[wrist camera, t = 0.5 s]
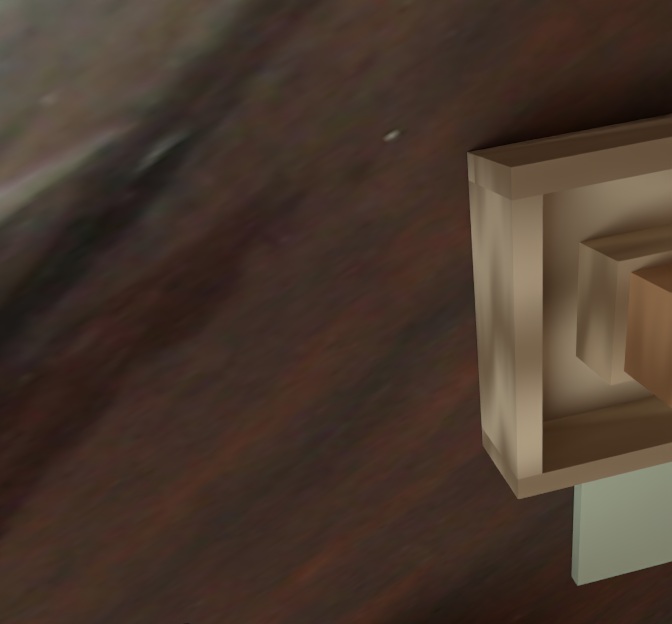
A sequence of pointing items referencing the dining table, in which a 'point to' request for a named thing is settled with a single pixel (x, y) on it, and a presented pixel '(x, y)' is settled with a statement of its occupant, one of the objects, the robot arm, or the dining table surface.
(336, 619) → the dining table surface
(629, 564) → the pad
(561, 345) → the access box
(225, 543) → the dining table surface
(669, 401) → the teak block
